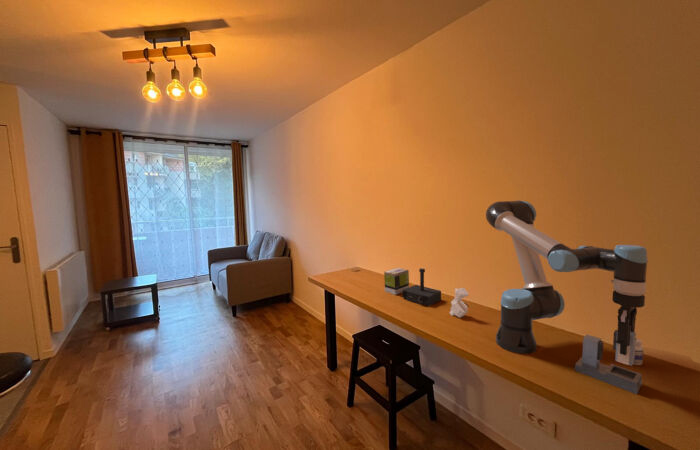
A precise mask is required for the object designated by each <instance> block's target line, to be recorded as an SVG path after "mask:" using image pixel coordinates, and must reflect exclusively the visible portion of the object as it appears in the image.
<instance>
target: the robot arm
mask: <svg viewBox="0 0 700 450" xmlns="http://www.w3.org/2000/svg"><path fill="white" fill-rule="evenodd" d="M536 218H537V210H536V208H535V206H533V204H532V203H531V202H528V201H525V200H507V201H503V200H501V201H496V202H493V203H492V204H490V205H489V206H488V207H487V209H486V210H485V219H486V221H487V223H488V224H489V225H490V226H491V227H492V228H494V229H495V230H496V231H498V232H499V231H503V232H504V233H505V234H507V235H509V236H510V237H511V239H512V244H513V247H514V250H515V254H516V257H517V260H518V265H519V268H520V271H521V275H522V279H523V282H524V285H523V287H522V288H508V289H506V290H504V291H503V292H502V294H501V299H500V325H499V327H498V330H497V332H496V334H495V342H496V344H497V345H498V346H499V347H501V348H503V349H504V350H507V351H508V352H512V353H515V354H522V355H525V354H526V355H527V354H534V353H535V352H536V351H537V347H538V346H537V345H538V344H537V341H536V339H535V335H534V331H533V321H536V320H542V319H551V318H555V317H558V316H559V315H561V314H562V313H563V312H564V311H565V300H564V297H563V295H562V293H560V292H559V291H558V290H556V289H554V286H553V284H552V283H550V282H548V280H547V276H546V273H545V270H544V267H543V264H542V260H541V257H540V256H542V257H543V258H545V259H546V260H547V263H548V265H549V267H550V269H552V270H554V271H555V272H559V273H571V272H577V271H585V270H595V269H597V270H602V271H608V272H613V279H611V280H610V282H611V283H612V285H613V286H612V289H613V291H612V297H611V298H612V303H615V304H617V305H619V306H620V307H619V308H618V310H617V315H616V316H617V330H618V333H617V341H615V343H618V358H617V361H616V362H617V363H620V364H621V363H622V364H624V365H626V366H627V365H628V366H630V365H629V357H630V344H629V341H630V331H631V332H635V330H636V320H637V314H638V309H639V308H644V307H645V301H646V300H645V299H646V296H645V294H646V293H647V292H646V289H647V281H646V279H647V278H646V277H647V269H648V268H647V267H648V262H649V261H648V250H647V248H646V247H644V246H640V245H636V244H635V245H633V244H617V245H616V246H615V247H614V249H610V248H603V247H599V246H592V245H588V246H587V245H580V246H578V248H571V247H569V246H567V245H565V244H563V243H561V242H560V241H558V240H557V239H555V238H553V237H551V236H550V235H547V234H546V233H544V232H542V231H541V230H539V229H537V228H535V227H534V226H535V224H534V222H535V221H536ZM635 333H636V332H635Z"/></svg>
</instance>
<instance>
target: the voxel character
mask: <svg viewBox="0 0 700 450" xmlns="http://www.w3.org/2000/svg"><path fill="white" fill-rule="evenodd" d="M469 294H470V293H469V292H468V290H467V289H466V288H465V287H460V288H454V298H453V299H452V300H451V302H450V303H451V307H450V311H449V312H448V313H449V314H450V315H451V317H452V316H455V317H456V316H457V317H458V319H460V318H463V317H464V316H466V315H467V314H468V312H469V310H468V309H469V307H468V305H466V304H465V303H464V301H463V299H465V298H466V297H468V296H469Z"/></svg>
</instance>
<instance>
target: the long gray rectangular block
mask: <svg viewBox="0 0 700 450" xmlns="http://www.w3.org/2000/svg"><path fill="white" fill-rule="evenodd" d="M617 333H618V329H615V330H614V332H613V341H612V342H613V344H612V350H614V351H615V359H614V360H615V362H617V358H618V343H615V341H617ZM636 336H637V333H636V332H631V331H630V341H629V344H630V357H629V365H628V366H630V367H633V365H634V364H633V363H634V359H635V342H636V338H637V337H636Z"/></svg>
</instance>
